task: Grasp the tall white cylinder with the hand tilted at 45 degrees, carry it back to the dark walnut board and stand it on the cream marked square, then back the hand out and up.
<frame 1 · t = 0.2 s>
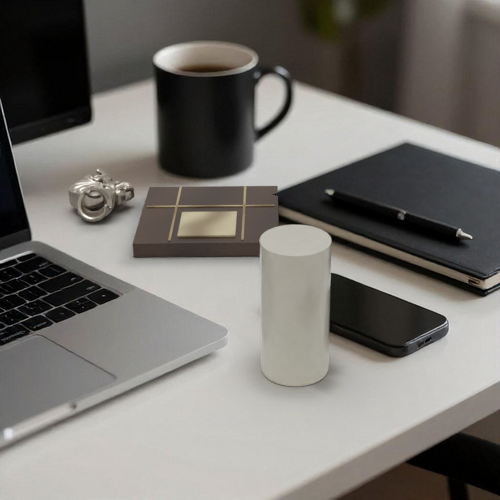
board: (210, 225, 95), on the table
ornament: (103, 210, 99), on the table
white cylinder: (294, 367, 71), on the table
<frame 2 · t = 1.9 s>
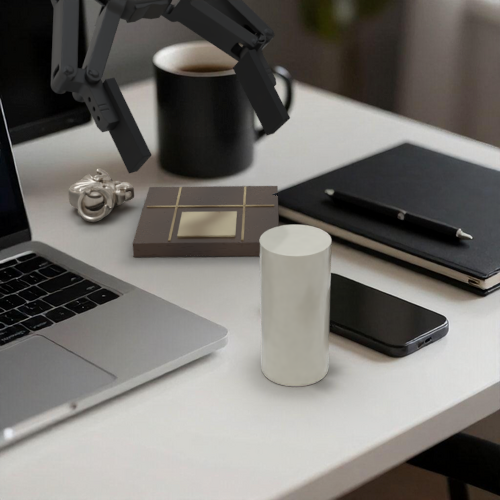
hand: (213, 145, 72), 15 cm above the table, tool tilted 40°, fingers open, 13 cm apart
nothing on the table moved.
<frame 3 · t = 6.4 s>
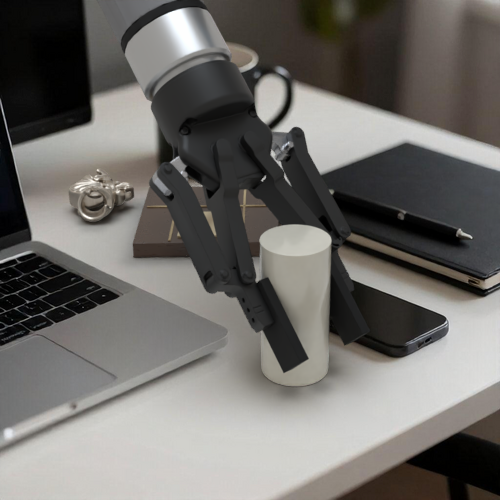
hand: (327, 351, 67), 3 cm above the table, tool tilted 45°, fingers closed on white cylinder, 5 cm apart
white cylinder: (294, 367, 71), on the table, touching gripper
everything else where it was.
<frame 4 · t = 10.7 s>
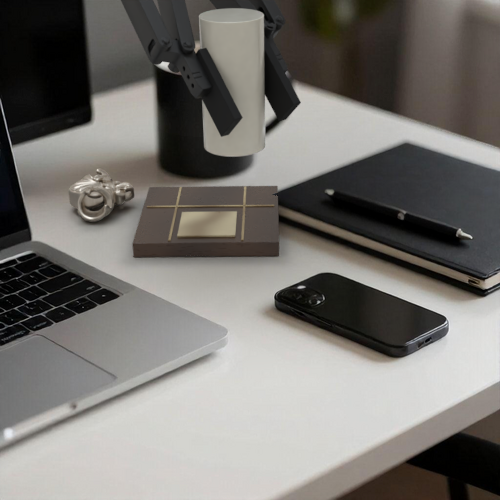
hand: (261, 119, 74), 16 cm above the table, tool tilted 45°, fingers closed on white cylinder, 5 cm apart
white cylinder: (234, 145, 78), point 13 cm above the table, touching gripper
everything else where it was.
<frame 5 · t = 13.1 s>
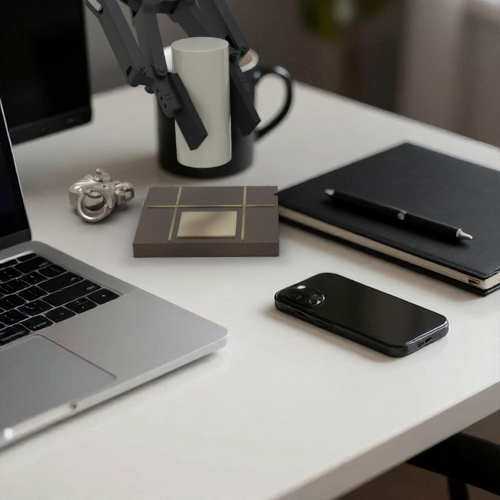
hand: (226, 135, 84), 12 cm above the table, tool tilted 45°, fingers closed on white cylinder, 5 cm apart
white cylinder: (204, 158, 88), point 9 cm above the table, touching gripper
everything else where it was.
when the fingers open (5 cm above the table, at t = 15.2 s): white cylinder stays where it is, resting on board.
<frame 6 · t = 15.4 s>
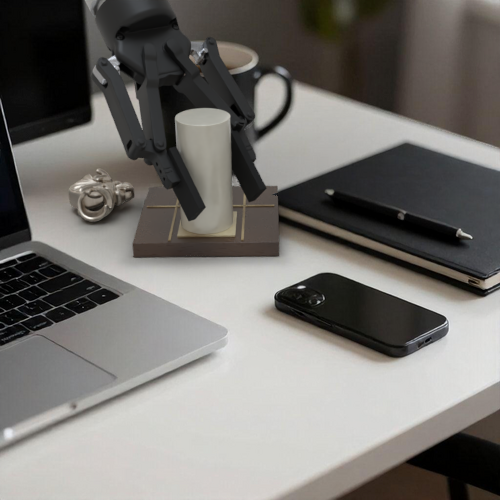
hand: (227, 204, 87), 5 cm above the table, tool tilted 45°, fingers open, 6 cm apart
white cylinder: (207, 222, 91), point 2 cm above the table, touching board
everything else where it was.
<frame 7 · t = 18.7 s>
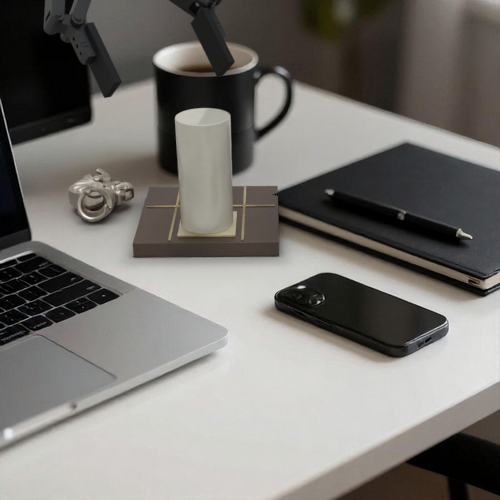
hand: (172, 79, 90), 15 cm above the table, tool tilted 45°, fingers open, 13 cm apart
nothing on the table moved.
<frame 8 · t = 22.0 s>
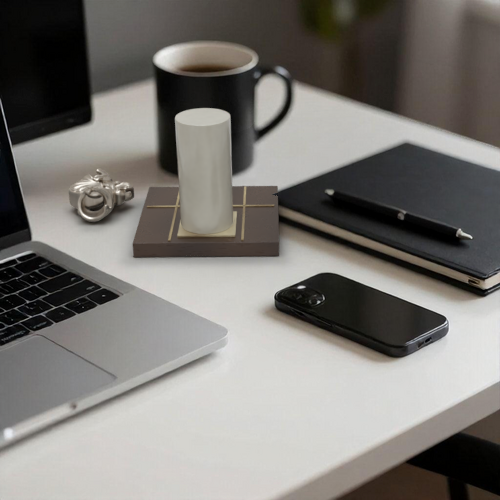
nothing on the table moved.
at the end: white cylinder 0.1 cm from the target spot on the board, point 1.7 cm above the board's base; white cylinder tilted 0°; the gripper is holding nothing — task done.
